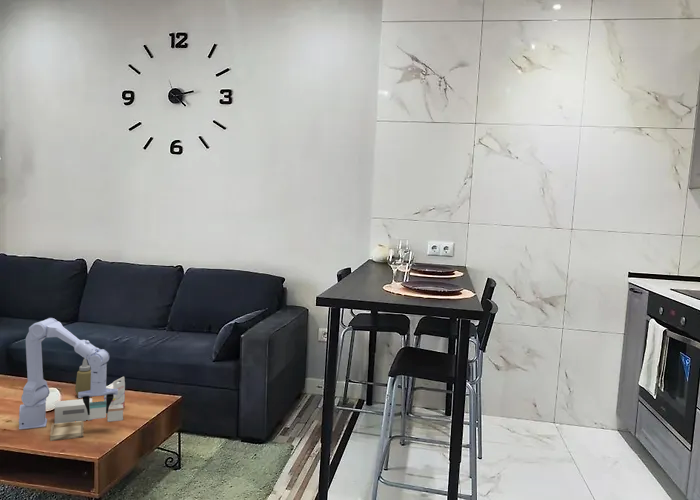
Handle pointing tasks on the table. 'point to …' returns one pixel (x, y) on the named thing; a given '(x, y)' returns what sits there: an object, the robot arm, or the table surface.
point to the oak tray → (66, 430)
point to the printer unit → (71, 411)
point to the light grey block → (115, 413)
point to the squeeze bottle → (83, 378)
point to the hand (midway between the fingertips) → (97, 413)
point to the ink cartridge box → (120, 397)
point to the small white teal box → (97, 410)
